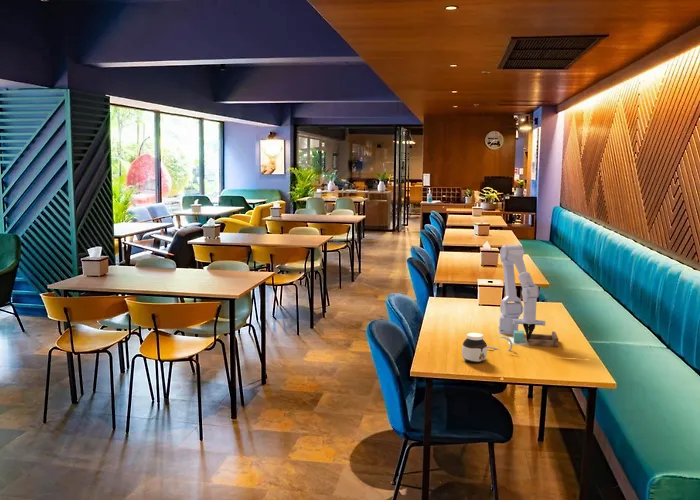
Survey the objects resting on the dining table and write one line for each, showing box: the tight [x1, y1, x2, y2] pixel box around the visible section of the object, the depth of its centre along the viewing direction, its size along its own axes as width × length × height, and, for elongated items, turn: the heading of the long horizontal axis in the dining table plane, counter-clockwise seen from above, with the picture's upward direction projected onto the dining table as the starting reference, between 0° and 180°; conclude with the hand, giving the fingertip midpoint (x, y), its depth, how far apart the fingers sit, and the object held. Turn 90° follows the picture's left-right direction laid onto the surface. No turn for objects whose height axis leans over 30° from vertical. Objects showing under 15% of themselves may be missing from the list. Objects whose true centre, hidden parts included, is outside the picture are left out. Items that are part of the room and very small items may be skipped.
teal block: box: [512, 330, 525, 343], centre depth 294 cm, size 4×4×4 cm
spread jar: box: [461, 332, 488, 364], centre depth 269 cm, size 12×11×12 cm
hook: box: [487, 336, 513, 352], centre depth 283 cm, size 7×9×20 cm
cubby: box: [506, 331, 559, 348], centre depth 293 cm, size 22×12×5 cm, turn 79°
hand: (528, 339), depth 294 cm, fingers closed
